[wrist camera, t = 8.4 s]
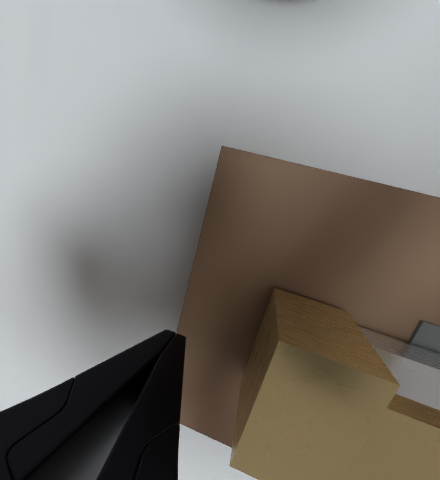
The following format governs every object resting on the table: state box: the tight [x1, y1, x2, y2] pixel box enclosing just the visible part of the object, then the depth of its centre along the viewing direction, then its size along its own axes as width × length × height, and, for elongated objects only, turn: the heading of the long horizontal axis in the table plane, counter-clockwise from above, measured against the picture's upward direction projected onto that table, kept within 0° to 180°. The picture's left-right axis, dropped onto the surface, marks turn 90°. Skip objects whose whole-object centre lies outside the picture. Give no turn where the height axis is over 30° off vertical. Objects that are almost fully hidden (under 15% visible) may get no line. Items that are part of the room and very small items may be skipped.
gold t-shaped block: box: [230, 288, 440, 480], centre depth 7 cm, size 6×5×3 cm
